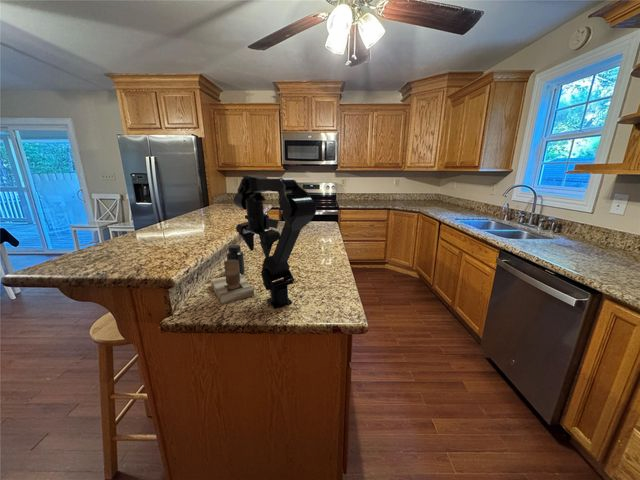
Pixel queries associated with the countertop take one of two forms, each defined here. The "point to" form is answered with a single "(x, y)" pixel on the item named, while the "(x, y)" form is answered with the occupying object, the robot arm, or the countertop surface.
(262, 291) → the countertop surface
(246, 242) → the robot arm
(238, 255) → the supplement bottle
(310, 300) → the countertop surface
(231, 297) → the board
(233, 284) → the walnut peg
